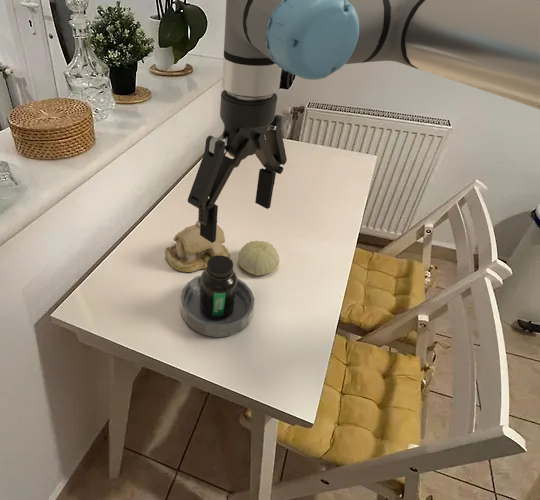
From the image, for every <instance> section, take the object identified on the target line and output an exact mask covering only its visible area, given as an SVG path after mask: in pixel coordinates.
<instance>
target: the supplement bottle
mask: <svg viewBox="0 0 540 500" xmlns="http://www.w3.org/2000/svg"><path fill="white" fill-rule="evenodd" d="M200 276H201V285H200V310H201V312H202V313H203V315H204V316H206V317H207V318H209V319H212V320H223V319H226V318H228V317H229V316H230V315H231V314H232V313H233V310H234V305H235V296H236V288H237V278H238V276H237V274H236V272H235V271H234V262H233V260H232V259H231V258H230V257H229V258H228V257H226V256H221V255H217V256H213V257H211V258H210V259H209V260H208V262H207V267H206V268H205V269H203V271H202V273H201V275H200Z"/></svg>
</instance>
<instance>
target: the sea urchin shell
mask: <svg viewBox="0 0 540 500" xmlns="http://www.w3.org/2000/svg"><path fill="white" fill-rule="evenodd" d="M237 263H238V266H240V267H241V268H242V270H244V271H245V272H247V273H248V274H252V275H254V276H259V277H260V276H264V275H268V274H270V273H273V272H274V271H275V270H277V269H278V268H279V266H280V255H279V253H278V251H277V249H276V247H274V245H273V244H272V243H270V242H268V241H264V240H251V241H249V242H247V243H245V244H244V245H243V246H242V247H241V249H240V251H239V252H238V256H237Z"/></svg>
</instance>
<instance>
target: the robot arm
mask: <svg viewBox="0 0 540 500" xmlns="http://www.w3.org/2000/svg"><path fill="white" fill-rule="evenodd" d="M225 1H226V2H225V3H226V4H225V19H224V20H225V21H224V23H225V24H224V41H223V43H224V44H223V64H222V80H221V81H222V82H221V88H222V89H223V90H222V91H221V93H220V106H219V107H220V108H219V117H220V119H221V121H222V124H223V127H224V128H223V131H222V133H221V134H222V135H220V136H217V137H215V136H213V135H207V137H206V138H205V139H206V140H205V144H204V145H205V146H204V153H203V155H202V159H201V161H200V164H199V167H198V170H197V172H196V175H195V178H194V180H193V183H192V186H191V189H190V191H189V195H188V197H187V203H188V204H190V205H191V206H193V207H195V208H196V209H197V210H198V216H197V217H198V220H199V222H200V236H202V237H204V238H205V239H207V240H208V241H210V242H212V243H213V242H215V241H216V228H217V225H218V213H219V212H218V211H219V206H218V205H217V204H216V202H217V200H218V198H219V197H220V195H221V193H222V191H223V189H224V187H225V186H226V184H227V182H228V179H229V178H230V176H231V175H232V173H233V171H234V169H235V168H238V167H239V166H240V164H241V163H242V161H243V160H245V159H247V158H248V157H249V156H254V155H255V156H256V157H257V159H258V160H259V161H260V164H261V165H262V168H259V171H258V178H257V186H256V194H255V201H254V203H255V204H256V205H259V206H260V207H262V208H264V209H266V210H269V209H270V208H271V206H272V205H271V204H272V198H273V192H274V186H275V184H276V183H275V181H276V175H281V174H282V173H283V172H284V167H283V166H284V165H286V163H287V161H288V158H287V153H286V147H285V143H284V137H283V132H282V123H283V122H282V120H283V118H282V115H279V114H276V109H277V104H278V103H277V102H278V95H277V92H278V91H279V90H280V85H281V84H280V83H281V77H282V71H284V72H288V73H290V74H291V75H294V76H297V77H299V78H301V79H304V80H308V81H316V80H317V81H318V80H323V79H325V78H328V77H329V76H330V75H333V74H334V73H335V72H337V71H340V70H341V68H342V67H344V66H345V65H351V64H365V63H373V62H374V63H375V62H376V63H377V62H388V61H389V62H395V63H399V64H401V65H405V66H408V67H411V68H414V69H417V70H422V71H425V72H427V73H430V74H433V75H437V76H440V77H442V78H445V79H448V80H451V81H454V82H457V83H461V84H463V85H466V86H469V87H472V88H475V89H478V90H481V91H484V92H487V93H490V94H493V95H496V96H498V97H502V98H504V99H508V100H510V101H514V102H516V103H520V104H522V105H526V106H528V107H532V108H534V109H537V110H540V0H225ZM227 154H228V155H229V156H227ZM231 157H232V158H231ZM198 220H197V221H198ZM523 500H540V473H538V475H537V477H536V479H535V481H534V482H533V484H532V486H531V487H530V489H529V491H528V493H526V496H525V497H524V499H523Z"/></svg>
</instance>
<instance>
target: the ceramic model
mask: <svg viewBox="0 0 540 500" xmlns="http://www.w3.org/2000/svg"><path fill="white" fill-rule="evenodd" d="M173 242H175V243H173V244H171V245H170V246H166V247H165V249H164V255H165V258H166V260H167V262H168V264H169V265H170V267H172V268H173V269H174V270H176V271H179V272H186V273H192V272H196V271H199V270H205V269H206V267H207V262H208V260H209V259H210V258H211V257H213V256H217V255H221V256H226V257H228V258H230V257H231V254H230V250H229V249H228V248H227V247H226V246H225V245H224V243H225V242H226V238H225V234H224V230H223V228H221V226H220V225H218V224H217V228H216V241H215V242H213V243H212V242H210V241H208V240H207V239H205V238H204V237H202V236H200V222H199V220H197V221H195V224H193V225H190V226H187V227H185V228H184V229H182V230H181V231H179V232H177V233H176V234H175V235H174V237H173Z"/></svg>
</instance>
